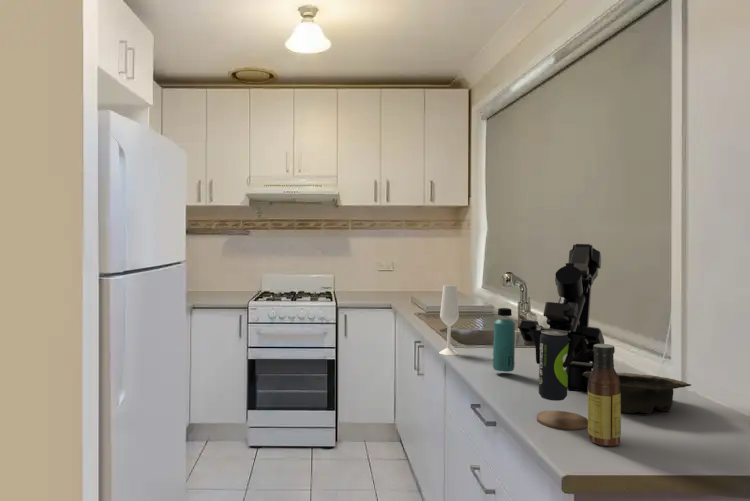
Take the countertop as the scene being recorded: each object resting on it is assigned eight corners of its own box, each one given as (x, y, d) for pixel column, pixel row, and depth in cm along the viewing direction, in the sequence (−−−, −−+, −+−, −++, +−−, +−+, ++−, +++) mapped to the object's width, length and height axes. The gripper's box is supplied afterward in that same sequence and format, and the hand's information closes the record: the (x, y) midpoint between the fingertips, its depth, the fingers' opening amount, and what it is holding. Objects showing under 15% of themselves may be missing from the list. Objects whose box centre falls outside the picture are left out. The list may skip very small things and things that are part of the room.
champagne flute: (455, 355, 198) (457, 286, 197) (436, 353, 200) (438, 285, 200) (460, 352, 204) (461, 285, 203) (441, 350, 207) (443, 284, 206)
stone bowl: (627, 424, 127) (626, 382, 128) (562, 400, 151) (561, 365, 152) (716, 415, 134) (715, 375, 134) (640, 394, 158) (639, 360, 158)
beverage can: (533, 394, 132) (534, 330, 131) (556, 392, 133) (558, 328, 133) (548, 402, 126) (550, 335, 125) (572, 400, 128) (574, 333, 127)
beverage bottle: (508, 377, 168) (510, 310, 167) (488, 374, 172) (490, 308, 171) (518, 374, 173) (519, 308, 172) (497, 370, 177) (499, 306, 177)
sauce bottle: (612, 436, 119) (614, 342, 119) (626, 448, 113) (629, 348, 112) (581, 436, 119) (583, 342, 118) (593, 447, 113) (596, 348, 112)
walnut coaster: (583, 416, 133) (583, 412, 133) (592, 431, 122) (592, 428, 122) (534, 412, 135) (534, 409, 135) (539, 427, 124) (539, 424, 124)
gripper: (522, 286, 138) (501, 338, 129) (602, 292, 126) (584, 349, 118) (534, 315, 144) (515, 366, 136) (611, 323, 133) (595, 379, 124)
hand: (550, 364), depth 128 cm, fingers closed on beverage can, 6 cm apart
